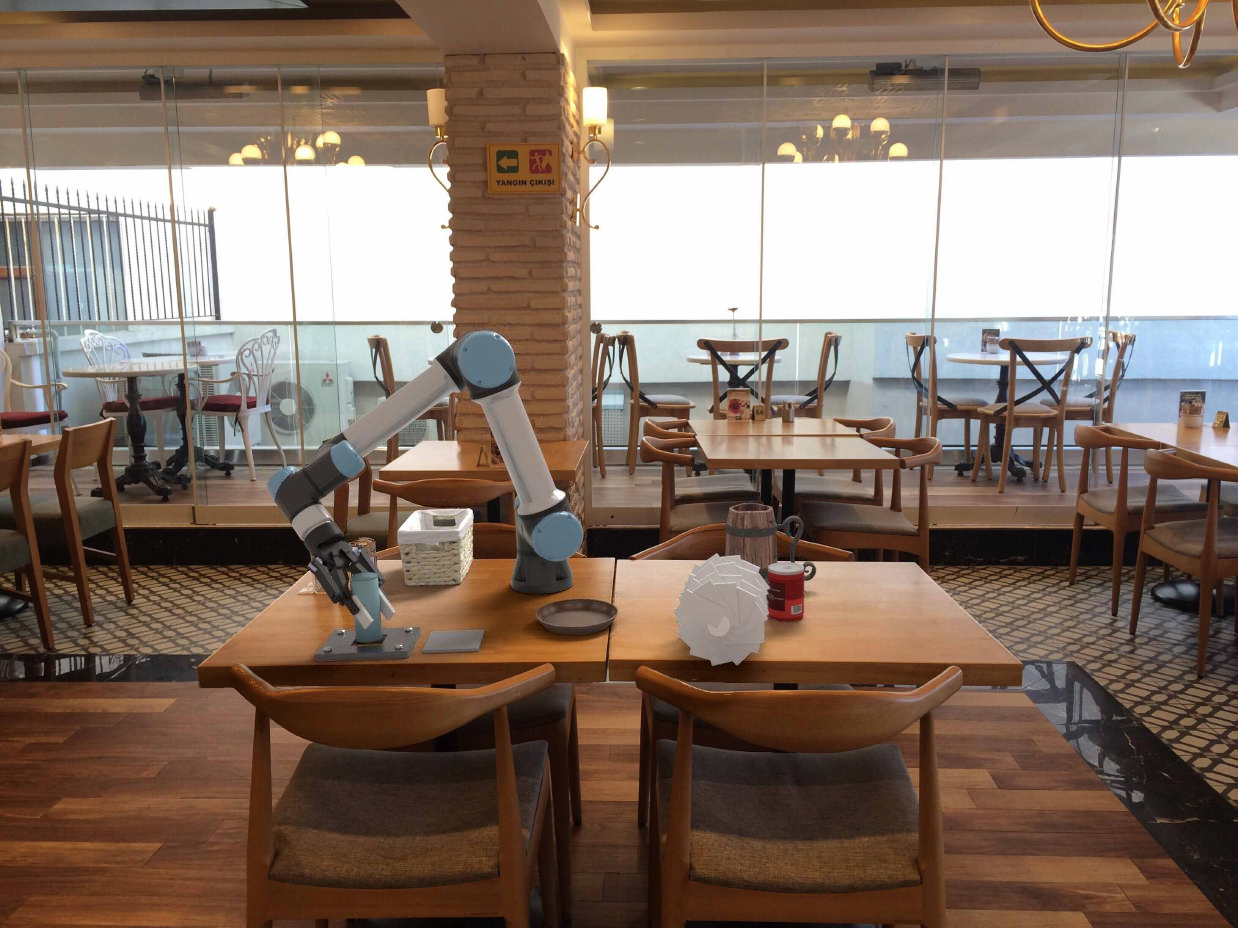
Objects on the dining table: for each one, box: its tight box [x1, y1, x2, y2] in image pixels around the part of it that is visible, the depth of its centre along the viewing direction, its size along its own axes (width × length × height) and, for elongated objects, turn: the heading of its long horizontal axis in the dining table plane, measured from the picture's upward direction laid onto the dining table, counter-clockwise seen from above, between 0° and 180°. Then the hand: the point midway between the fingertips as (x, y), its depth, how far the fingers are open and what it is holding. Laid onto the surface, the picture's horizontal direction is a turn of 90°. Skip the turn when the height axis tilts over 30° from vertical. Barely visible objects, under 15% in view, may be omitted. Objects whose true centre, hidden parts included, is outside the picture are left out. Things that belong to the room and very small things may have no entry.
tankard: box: [724, 502, 817, 601], centre depth 220 cm, size 24×17×20 cm
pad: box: [422, 629, 485, 654], centre depth 192 cm, size 11×11×1 cm
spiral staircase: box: [673, 553, 770, 667], centre depth 183 cm, size 18×18×25 cm
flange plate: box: [314, 626, 422, 662], centre depth 191 cm, size 18×14×2 cm
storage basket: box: [396, 507, 475, 587], centre depth 242 cm, size 24×16×15 cm
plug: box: [350, 572, 383, 644], centre depth 190 cm, size 5×5×13 cm
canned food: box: [767, 561, 805, 623], centre depth 202 cm, size 8×8×11 cm
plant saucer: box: [535, 598, 619, 636], centre depth 202 cm, size 18×18×3 cm
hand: (380, 620), depth 188 cm, fingers closed on plug, 5 cm apart
